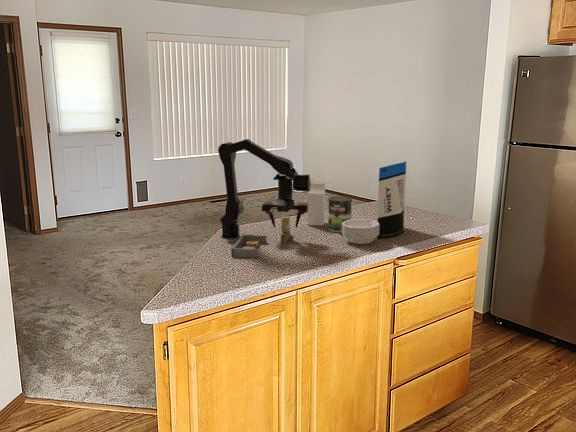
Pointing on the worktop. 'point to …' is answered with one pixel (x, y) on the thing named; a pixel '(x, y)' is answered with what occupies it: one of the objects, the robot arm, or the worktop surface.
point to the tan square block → (252, 244)
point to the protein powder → (391, 200)
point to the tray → (242, 252)
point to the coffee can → (338, 212)
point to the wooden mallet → (285, 229)
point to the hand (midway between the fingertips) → (285, 227)
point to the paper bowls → (360, 230)
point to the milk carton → (316, 205)
